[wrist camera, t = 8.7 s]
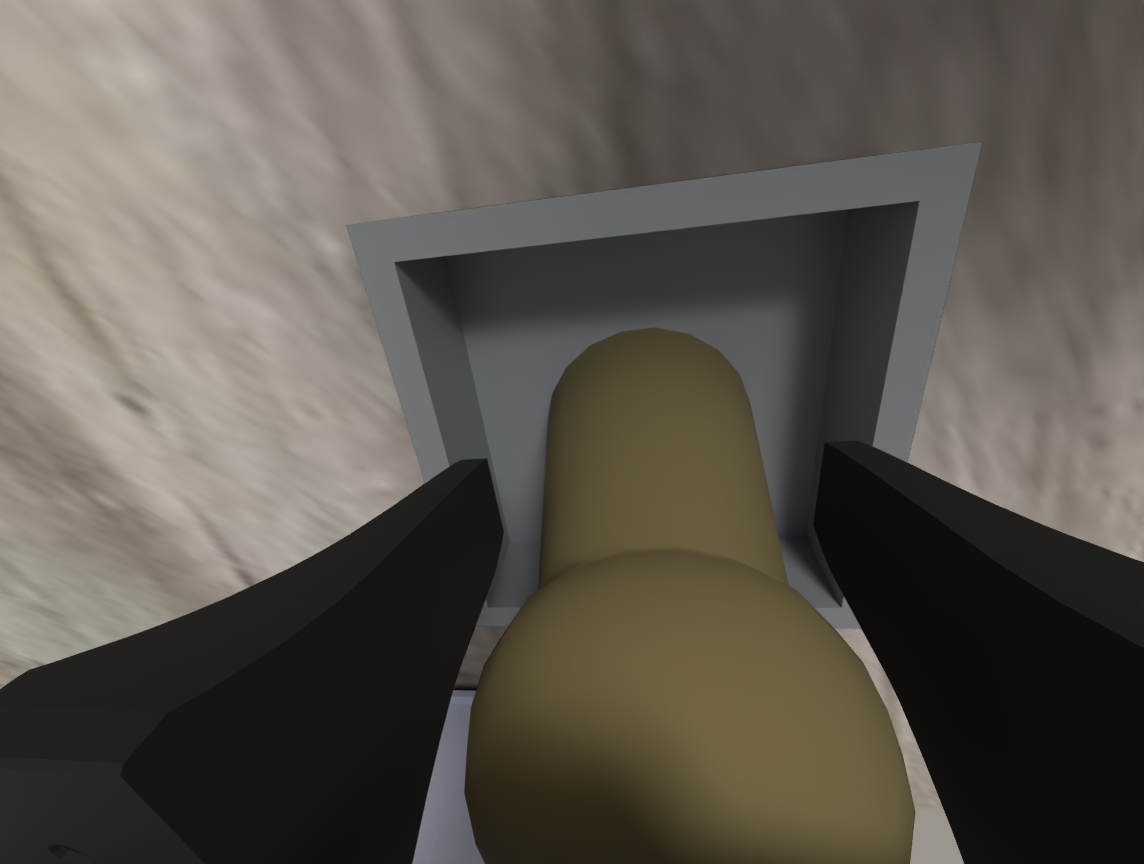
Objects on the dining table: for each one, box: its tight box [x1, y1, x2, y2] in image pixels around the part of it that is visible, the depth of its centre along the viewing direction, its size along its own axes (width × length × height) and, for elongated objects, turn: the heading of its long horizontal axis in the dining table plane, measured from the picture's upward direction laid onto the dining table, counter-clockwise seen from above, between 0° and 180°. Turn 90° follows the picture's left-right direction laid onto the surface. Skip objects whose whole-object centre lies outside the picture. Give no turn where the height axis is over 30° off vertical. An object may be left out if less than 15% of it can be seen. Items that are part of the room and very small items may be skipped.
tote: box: [346, 142, 982, 629], centre depth 13 cm, size 12×12×4 cm
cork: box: [464, 327, 915, 864], centre depth 9 cm, size 6×6×11 cm
